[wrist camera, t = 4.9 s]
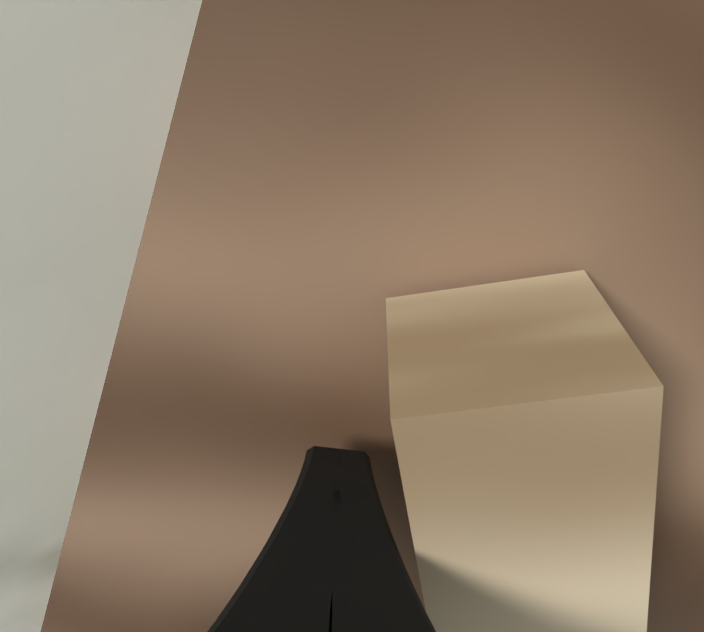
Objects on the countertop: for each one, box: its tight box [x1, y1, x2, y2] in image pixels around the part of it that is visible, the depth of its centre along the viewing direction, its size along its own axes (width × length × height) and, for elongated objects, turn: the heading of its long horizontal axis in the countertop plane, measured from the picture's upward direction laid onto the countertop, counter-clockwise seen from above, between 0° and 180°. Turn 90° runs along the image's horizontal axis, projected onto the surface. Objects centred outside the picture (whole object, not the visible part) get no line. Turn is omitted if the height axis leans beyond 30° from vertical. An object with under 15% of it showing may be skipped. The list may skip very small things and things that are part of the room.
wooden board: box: [41, 0, 704, 632], centre depth 12 cm, size 22×18×5 cm
